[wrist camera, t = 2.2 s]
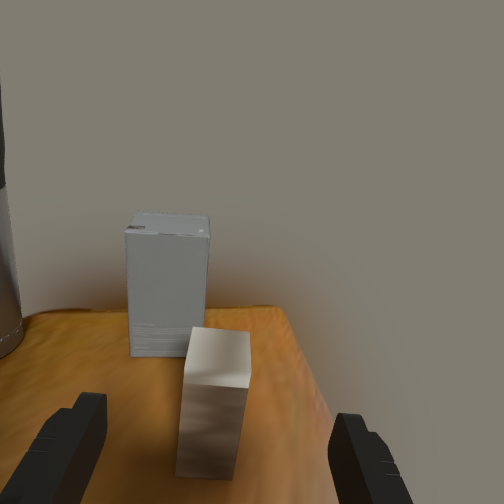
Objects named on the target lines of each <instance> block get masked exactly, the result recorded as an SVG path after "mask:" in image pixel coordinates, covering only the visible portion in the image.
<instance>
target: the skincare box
mask: <svg viewBox="0 0 504 504" xmlns="http://www.w3.org/2000/svg"><path fill="white" fill-rule="evenodd" d="M125 243H126V265H127V291H128V317H129V344H130V357H187V352H188V347H189V343H190V338H191V333H192V328H193V327H203V328H204V315H205V302H206V287H207V273H208V257H209V245H210V221H209V216H208V215H193V214H176V213H163V212H149V211H137V212H136V214H135V216H134V217H133V219H132V220H131V222H130V224H129V225H128V227H127V229H126V230H125Z"/></svg>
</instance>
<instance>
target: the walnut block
mask: <svg viewBox="0 0 504 504" xmlns="http://www.w3.org/2000/svg"><path fill="white" fill-rule="evenodd" d="M250 376H251V354H250V334H249V332H243V331H233V330H223V329H213V328H203V327H193V328H192V333H191V338H190V343H189V347H188V352H187V357H186V362H185V368H184V379H183V391H182V402H181V413H180V425H179V436H178V448H177V459H176V470H175V477H182V478H199V479H215V480H232V477H233V471H234V466H235V460H236V455H237V449H238V444H239V438H240V432H241V427H242V421H243V416H244V410H245V404H246V399H247V393H248V388H249V382H250Z"/></svg>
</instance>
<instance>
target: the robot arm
mask: <svg viewBox="0 0 504 504" xmlns="http://www.w3.org/2000/svg"><path fill="white" fill-rule="evenodd" d="M4 145H5V143H4V132H3V122H2V106H1V86H0V358H2V357H4V356H5V355H7V354H8V353H10V352H11V351H13V350H14V349H15V348H16V347H17V346H18V345H19V344H20V342H21V341H22V339H23V336H24V330H23V318H22V313H21V304H20V295H19V287H18V279H17V271H16V262H15V255H14V247H13V238H12V230H11V222H10V215H9V206H8V198H7V190H6V185H5V184H6V182H5V174H4V158H5V157H4V155H5V146H4ZM106 433H107V396H106V394H101V393H88V392H82V393H81V394H80V395H79V397H78V399H77V400H76V402H75V404H74V406H73V408H72V409H69V408H60V409H59V410H58V411H57V412H56V413H55V414H53V415H52V416H51V417H50V418H49V419H47V420H46V422H45V423H44V425H43V427H42V428H41V430H40V431H39V433H38V435H37V437H36V439H34V441H33V443H32V444H31V446H30V447H29V450H28V452H26V454H25V455H24V457H23V459H22V460H21V462H20V463H19V465H18V466H17V468H16V470H15V471H14V473H13V474H12V476H11V478H10V479H9V481H8V482H7V484H6V486H5V487H4V489H3V490H2V492H1V494H0V504H80V502H81V500H82V497H83V495H84V492H85V490H86V488H87V485H88V483H89V480H90V478H91V475H92V473H93V470H94V468H95V465H96V463H97V460H98V458H99V456H100V453H101V451H102V448H103V445H104V442H105V438H106ZM328 461H329V466H330V470H331V474H332V477H333V481H334V485H335V489H336V493H337V497H338V501H339V504H413V502H412V500H411V497H410V495H409V493H408V491H407V488H406V486H405V484H404V482H403V479H402V477H400V473H399V471H398V468H397V466H396V464H394V460H393V457H392V455H391V453H390V451H389V448H388V446H387V445H386V444H385V442H384V441H383V440H382V439H381V438H380V437H379V436H378V434H377V433H376V432H368V430H367V427H366V425H365V422H364V420H363V418H362V416H361V415H359V414H346V413H338V415H337V417H336V420H335V423H334V427H333V430H332V433H331V437H330V440H329V444H328Z"/></svg>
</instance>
